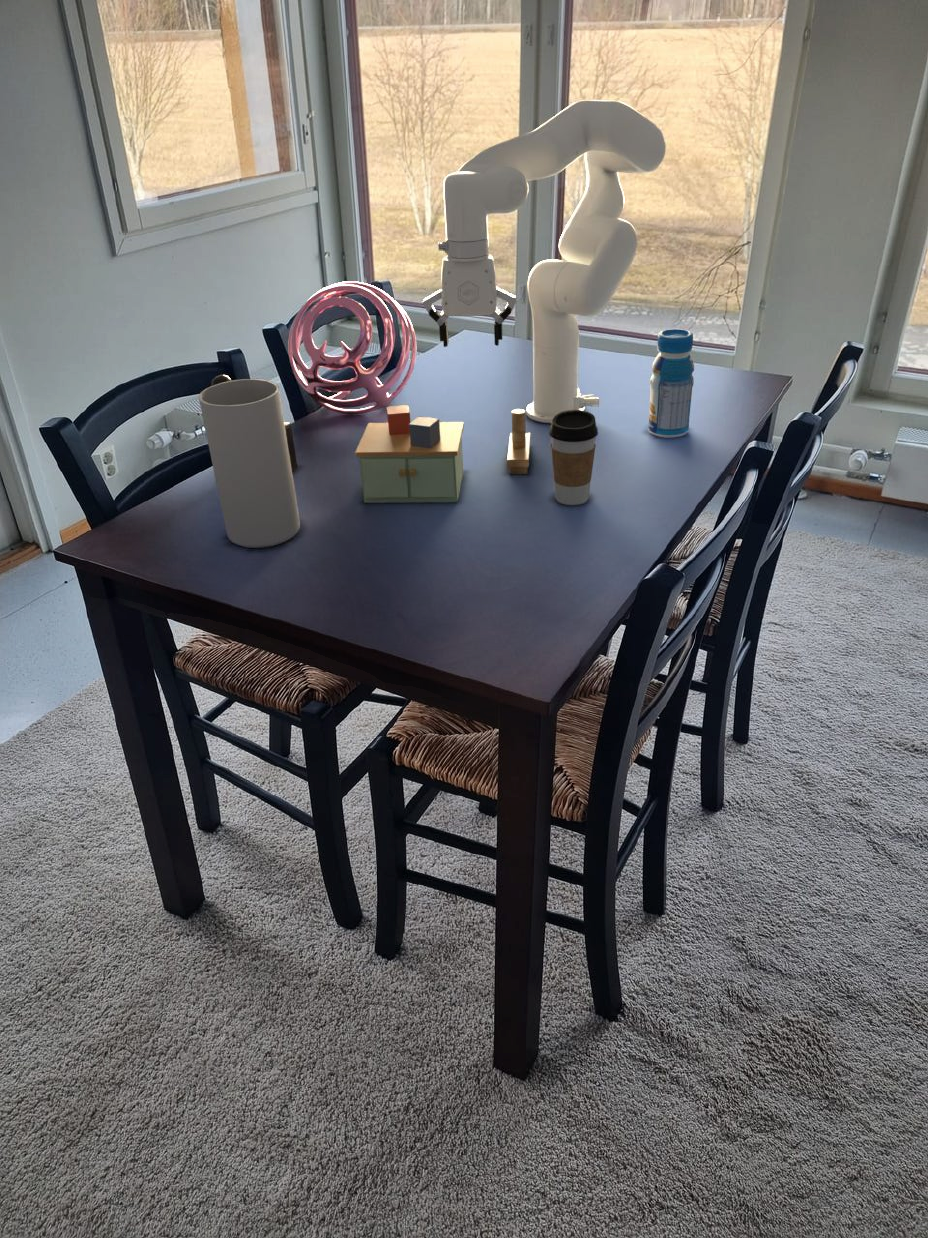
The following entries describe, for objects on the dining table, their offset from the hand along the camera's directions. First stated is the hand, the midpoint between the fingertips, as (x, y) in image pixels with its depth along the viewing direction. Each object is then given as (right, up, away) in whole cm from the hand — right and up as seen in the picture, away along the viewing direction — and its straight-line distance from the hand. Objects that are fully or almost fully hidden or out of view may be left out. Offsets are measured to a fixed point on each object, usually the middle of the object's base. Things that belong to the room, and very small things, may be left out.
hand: (471, 344), depth 176 cm
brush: (+9, -21, +6) cm, 24 cm away
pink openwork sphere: (-26, -4, +35) cm, 43 cm away
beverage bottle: (+40, -14, +15) cm, 45 cm away
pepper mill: (-43, -23, +7) cm, 49 cm away
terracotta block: (-13, -17, -5) cm, 22 cm away
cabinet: (-10, -27, -2) cm, 29 cm away
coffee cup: (+18, -30, -9) cm, 37 cm away
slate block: (-8, -21, -11) cm, 25 cm away
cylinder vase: (-36, -37, -15) cm, 54 cm away
